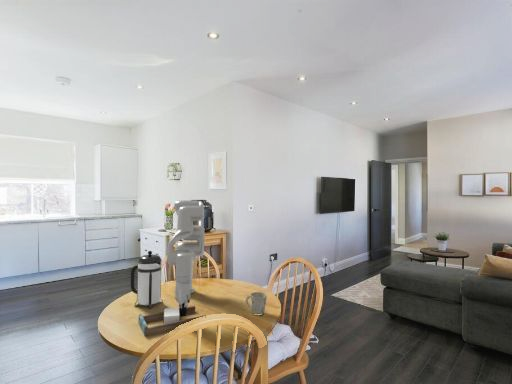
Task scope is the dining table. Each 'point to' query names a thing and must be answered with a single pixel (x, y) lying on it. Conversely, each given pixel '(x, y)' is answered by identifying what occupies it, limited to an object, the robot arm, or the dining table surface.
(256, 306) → the mug
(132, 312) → the dining table surface
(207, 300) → the dining table surface
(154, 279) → the coffee press
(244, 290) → the dining table surface
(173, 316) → the silver block
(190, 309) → the bay
